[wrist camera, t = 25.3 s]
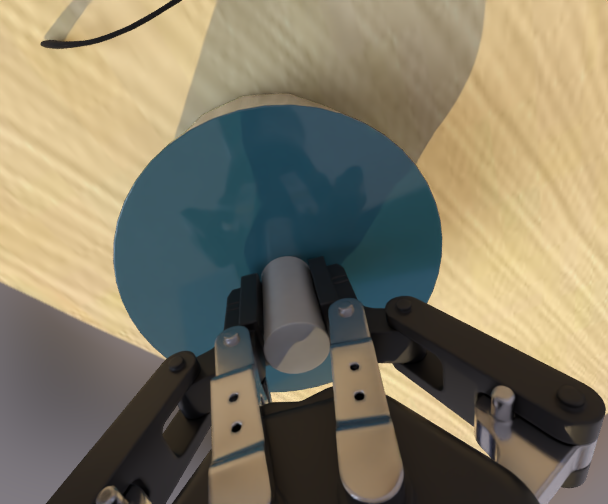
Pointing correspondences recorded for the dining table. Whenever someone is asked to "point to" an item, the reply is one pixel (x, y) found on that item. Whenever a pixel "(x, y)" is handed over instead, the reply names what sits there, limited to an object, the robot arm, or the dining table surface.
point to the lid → (272, 231)
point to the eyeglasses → (73, 44)
